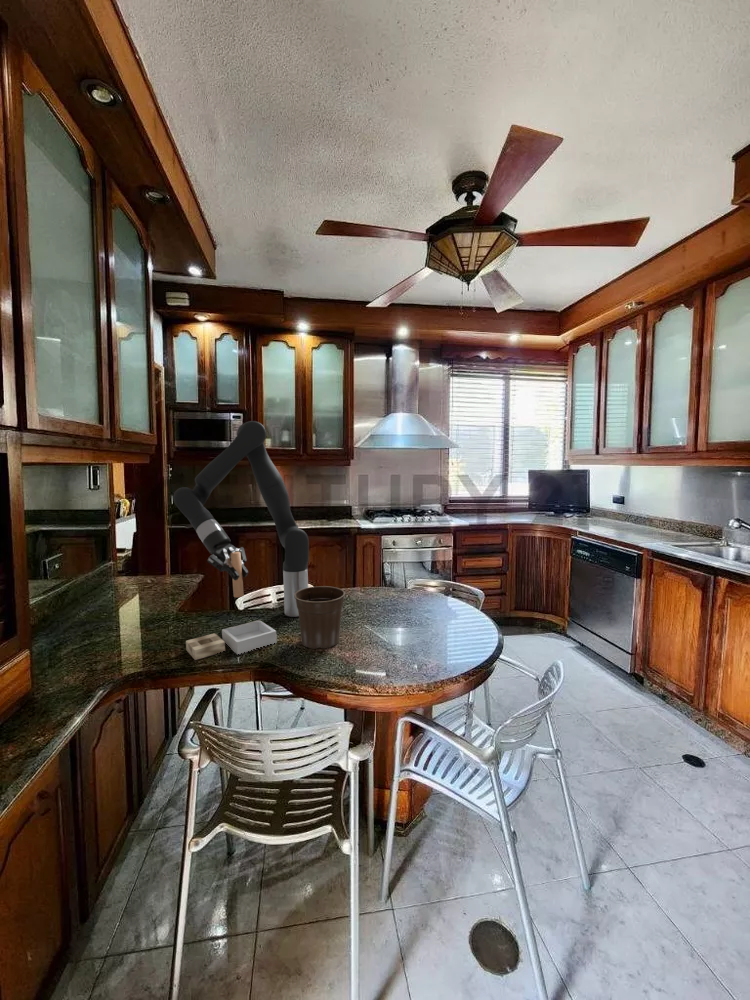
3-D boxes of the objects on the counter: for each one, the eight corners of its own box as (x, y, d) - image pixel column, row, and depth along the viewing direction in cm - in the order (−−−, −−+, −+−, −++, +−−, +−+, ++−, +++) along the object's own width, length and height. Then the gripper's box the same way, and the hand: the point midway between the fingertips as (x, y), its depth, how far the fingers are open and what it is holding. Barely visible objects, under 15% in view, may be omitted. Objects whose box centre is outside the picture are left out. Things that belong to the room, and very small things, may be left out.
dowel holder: (215, 642, 141) (214, 633, 141) (225, 651, 134) (224, 641, 134) (186, 650, 135) (185, 640, 135) (195, 660, 128) (194, 650, 128)
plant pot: (355, 637, 143) (354, 590, 141) (326, 657, 129) (324, 604, 128) (316, 628, 151) (315, 583, 150) (285, 645, 137) (283, 596, 136)
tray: (259, 631, 150) (259, 619, 149) (276, 643, 139) (276, 631, 139) (222, 641, 141) (221, 629, 141) (237, 654, 131) (237, 642, 131)
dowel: (241, 593, 140) (238, 551, 138) (245, 595, 138) (242, 552, 136) (232, 595, 138) (229, 553, 137) (235, 598, 136) (232, 554, 134)
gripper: (199, 532, 133) (229, 575, 128) (235, 525, 145) (263, 564, 140) (190, 548, 137) (218, 590, 132) (225, 539, 149) (253, 578, 144)
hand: (241, 576), depth 136 cm, fingers closed on dowel, 3 cm apart
